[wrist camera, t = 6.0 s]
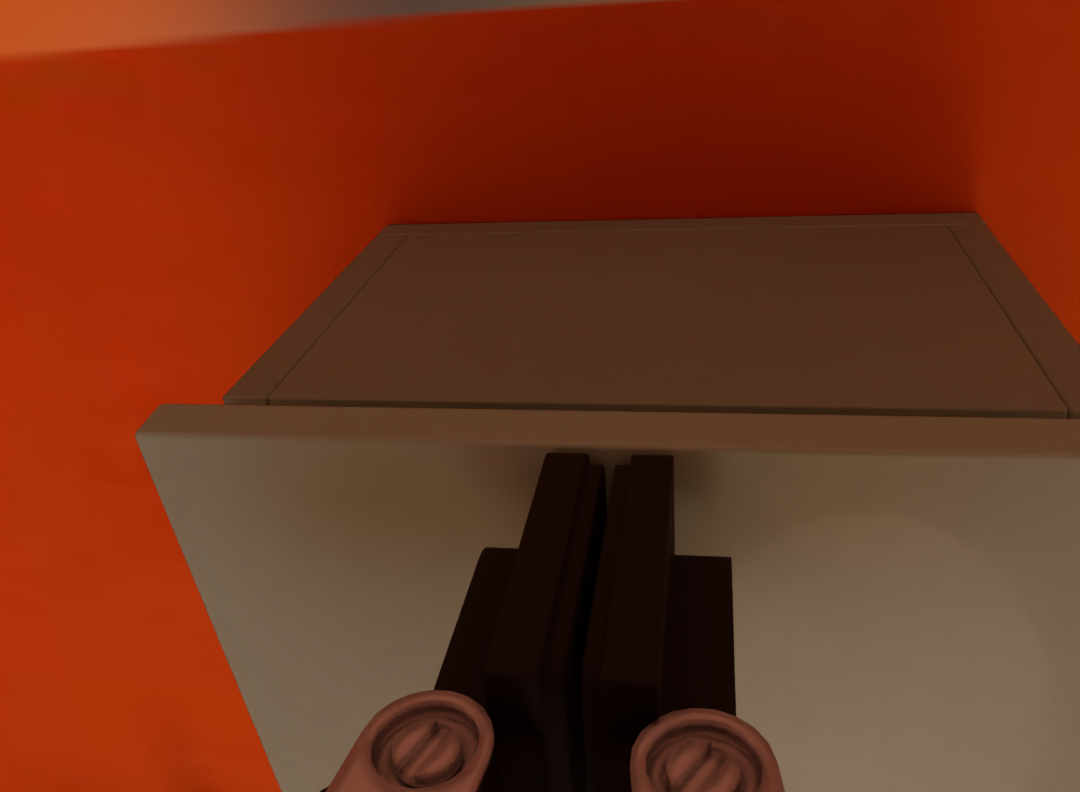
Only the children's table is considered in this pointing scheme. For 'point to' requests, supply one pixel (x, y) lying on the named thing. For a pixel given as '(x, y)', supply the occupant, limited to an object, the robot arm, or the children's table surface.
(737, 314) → the chest
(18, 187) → the children's table surface
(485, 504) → the lid
